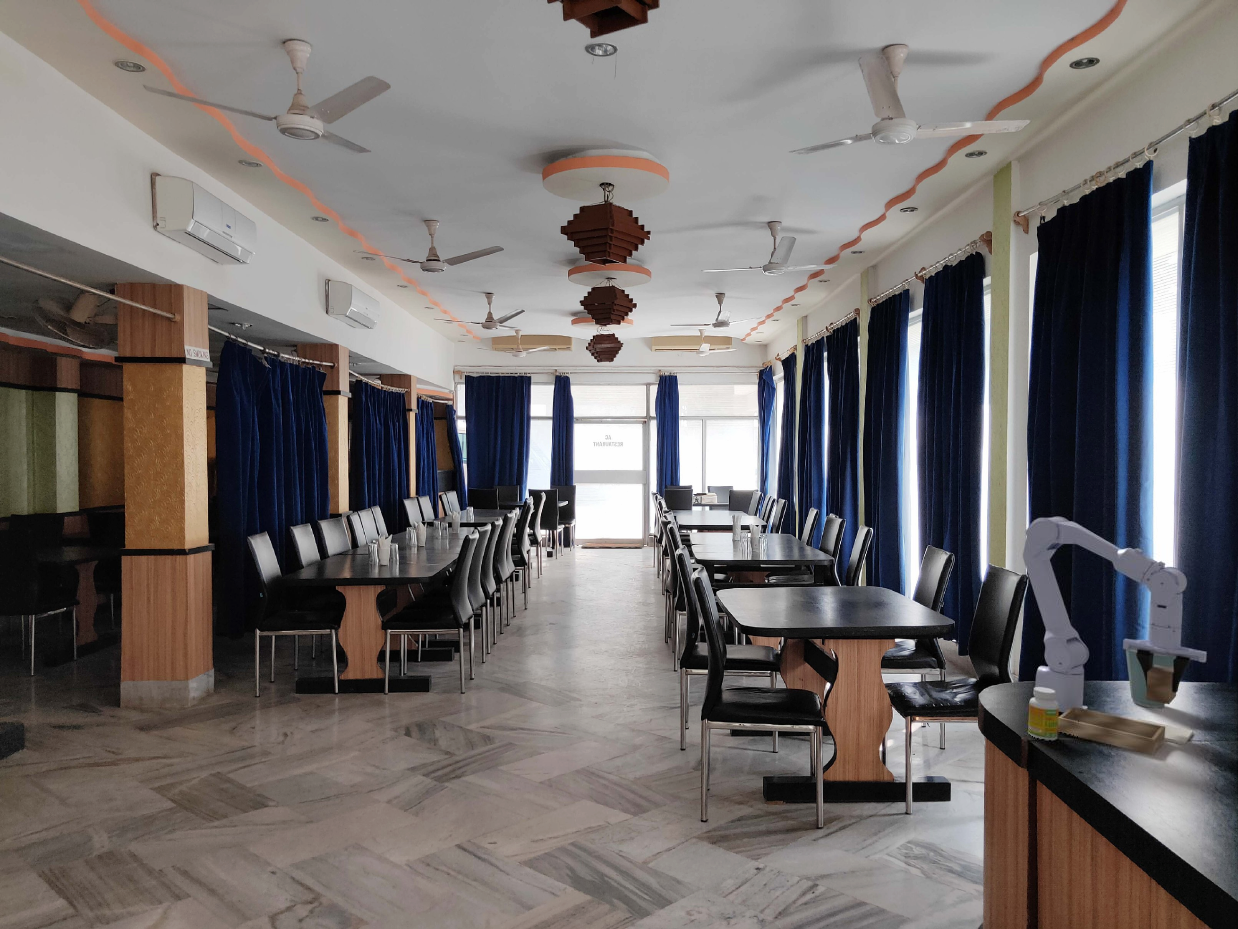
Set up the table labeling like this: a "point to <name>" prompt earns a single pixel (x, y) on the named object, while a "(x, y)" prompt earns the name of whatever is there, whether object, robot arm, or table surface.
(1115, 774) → the table surface
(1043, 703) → the supplement bottle
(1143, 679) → the disposable coffee cup
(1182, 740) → the pad
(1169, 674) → the block
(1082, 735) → the frame
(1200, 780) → the table surface
